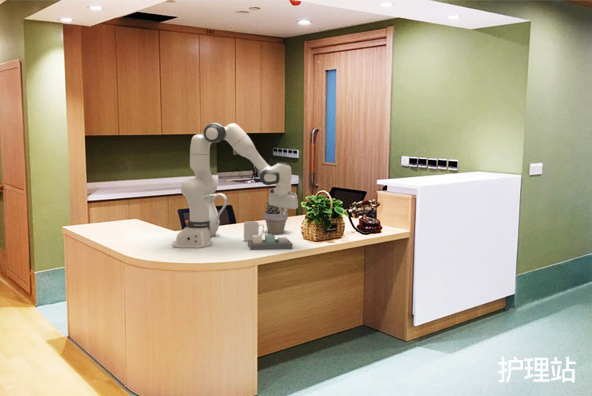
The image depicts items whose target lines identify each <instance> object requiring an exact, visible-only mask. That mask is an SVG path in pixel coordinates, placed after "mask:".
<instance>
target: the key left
mask: <svg viewBox="0 0 592 396" xmlns="http://www.w3.org/2000/svg"><path fill="white" fill-rule="evenodd" d="M262 240H263V235H261V234H259V235H252V242H253V243H262Z"/></svg>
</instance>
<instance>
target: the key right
mask: <svg viewBox="0 0 592 396" xmlns="http://www.w3.org/2000/svg"><path fill="white" fill-rule="evenodd" d="M277 239H278V243H287V242H288V240H289V239H288V238H287V236H286V237H277Z"/></svg>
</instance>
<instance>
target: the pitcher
mask: <svg viewBox="0 0 592 396" xmlns="http://www.w3.org/2000/svg"><path fill="white" fill-rule="evenodd" d="M217 197H222V199H223V202H224V203H223V206H222V207H221V209H220V210H219V211H218V210H217V208H216V205H215V201H216V199H217ZM204 201H205V204H206V205H208V207H209V220H210V230H209V231H210V238H211V237H214V236H216V234H217V232H218V230H219V227H220V224H221V221H220V216H221V214H222V213H223V211H224V210H225V209H226V208H227V204H228V198H227V196H226V194H225V193H219V192H218V193H212V194H210V195H208V196H204Z"/></svg>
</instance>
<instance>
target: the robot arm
mask: <svg viewBox="0 0 592 396" xmlns="http://www.w3.org/2000/svg"><path fill="white" fill-rule="evenodd" d="M223 140H224V141H226V142H227V143H228V144H229V145H230V146H231V147H232V149H233V150H234V151H235V152H236V153H237V154H238V155H239V156H241V157H244V158H246V159H247V160H249V161H250V162H251V163H252V165H254V167H255V168H256V169H257V170H258V171H259V181H260V183H262V184H263V185H265V186H273V185H275V187H274V188H270V189H269V190H268V193H269V194H268V198H267V201H268V203H269V205H272V206H278V207H279V211H280V215H286V211H287V212H288V209H289V210H290V209H292V210H296V209H298V208H299V199H298V194H297V193H296V192H292V167H291V165H290V164H288V163H286V162H277V163H276V164H274V165H270V164H269V163H267V162H266V160H265V159H264V158H263V157H262V155H260V153H259V152H258V150H257V149H256V146H255V144H254V142H253V141H252V139H251V137H249V135H248V134H247V132H246V131H245V130H244V129H242V127H241V126H239V125H238V124H237V123H234V122H233V123H229V124H227V125H226V126H224V125H223V124H222V123H219V122H210V123H209V124H207V125H206V126H205V127H204V128H203V131H202V133H200V134H199V133H197V134H195V135H193V136H192V138H191V142H190V147H189V153H190V154H189V167H190V169H191V170H192V171H193V173H194V176H195V177H194V178H189V179H187V180H185V181H183V182H182V183H181V185H180V192H181V195H183V197H185V199H186V201H187V203H188V208H189V219H187V220H185V221H184V223H185V226H186V227H184V228H183V229H182V230H181V231H179V232H178V233H177V235H176V239H175V240H174V241H172V247H174V248H181V249H182V248H183V249H184V248H191V249H194V248H195V249H203V248H205V247H210V246H211V245H212V244H213V243H212V240H211V237H210V231H209V230H210V220H209V207H208V205H206V204H205V201H204V196H208V195H210V194H215V192H216V191H217V190H218V183H217V181H216V179H215V178H214V176H213V175H212V172H211V165H210V151H211V149H210V148H211V144H213V143H215V144H216V143H219V142H221V141H223ZM282 208H283V209H284V211H283V210H282Z"/></svg>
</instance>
